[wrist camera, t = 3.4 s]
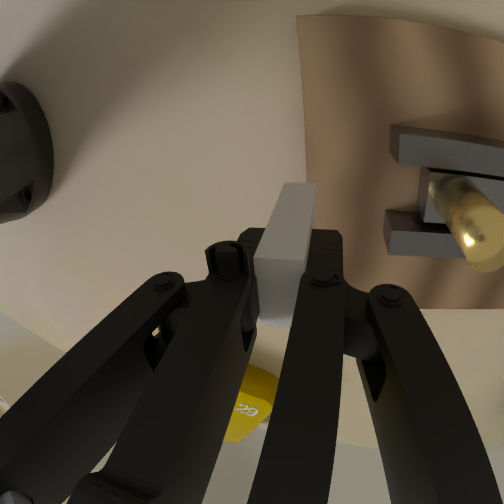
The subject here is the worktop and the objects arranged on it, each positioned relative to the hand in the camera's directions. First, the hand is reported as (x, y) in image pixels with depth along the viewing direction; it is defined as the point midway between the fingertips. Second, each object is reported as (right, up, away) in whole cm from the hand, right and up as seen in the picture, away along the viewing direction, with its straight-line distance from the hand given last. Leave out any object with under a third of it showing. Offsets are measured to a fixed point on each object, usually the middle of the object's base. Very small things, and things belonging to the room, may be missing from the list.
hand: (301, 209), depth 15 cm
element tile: (-8, -18, +23) cm, 30 cm away
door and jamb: (+16, +3, +2) cm, 16 cm away
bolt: (+12, +2, +1) cm, 13 cm away
